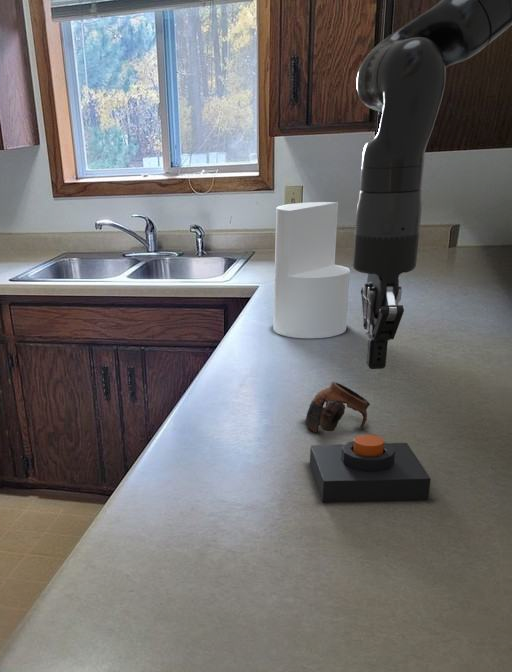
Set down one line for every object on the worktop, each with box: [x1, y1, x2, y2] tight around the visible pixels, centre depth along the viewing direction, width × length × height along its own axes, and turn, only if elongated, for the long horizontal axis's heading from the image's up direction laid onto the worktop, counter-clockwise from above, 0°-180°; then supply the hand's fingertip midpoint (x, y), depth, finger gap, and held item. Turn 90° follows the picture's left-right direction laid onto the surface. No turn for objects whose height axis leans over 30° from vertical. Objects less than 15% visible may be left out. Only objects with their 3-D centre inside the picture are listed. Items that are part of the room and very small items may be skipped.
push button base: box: [309, 440, 431, 503], centre depth 104 cm, size 14×12×5 cm
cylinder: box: [273, 201, 351, 339], centre depth 173 cm, size 17×17×28 cm
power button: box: [353, 434, 385, 456], centre depth 102 cm, size 4×4×2 cm
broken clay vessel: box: [304, 381, 371, 433], centre depth 121 cm, size 12×10×8 cm
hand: (375, 366), depth 97 cm, fingers closed
